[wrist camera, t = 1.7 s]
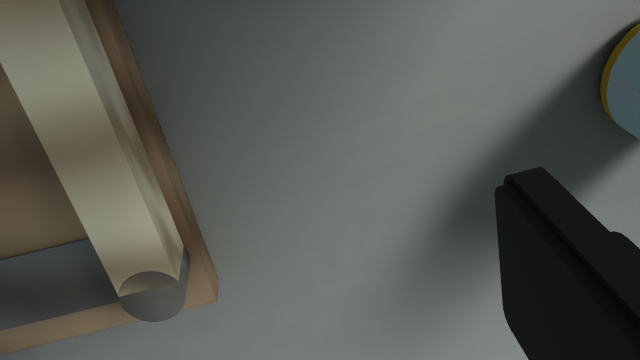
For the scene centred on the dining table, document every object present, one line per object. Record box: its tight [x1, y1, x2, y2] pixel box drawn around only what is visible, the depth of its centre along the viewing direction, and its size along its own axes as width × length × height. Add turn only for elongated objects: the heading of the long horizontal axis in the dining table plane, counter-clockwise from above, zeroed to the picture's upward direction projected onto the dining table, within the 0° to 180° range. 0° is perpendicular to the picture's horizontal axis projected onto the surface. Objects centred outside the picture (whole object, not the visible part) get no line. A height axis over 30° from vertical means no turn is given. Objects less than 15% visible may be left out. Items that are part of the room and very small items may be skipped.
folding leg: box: [0, 0, 190, 322], centre depth 26 cm, size 17×3×3 cm, turn 12°
